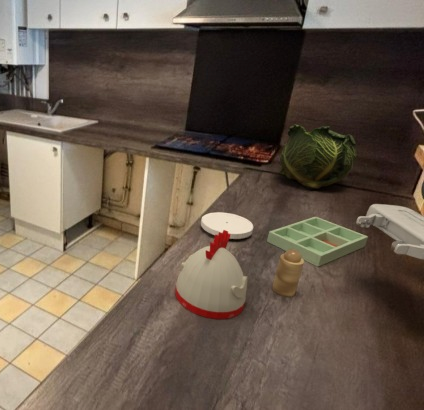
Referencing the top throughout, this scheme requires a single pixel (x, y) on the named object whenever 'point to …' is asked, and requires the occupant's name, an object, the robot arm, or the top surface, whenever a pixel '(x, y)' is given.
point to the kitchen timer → (212, 281)
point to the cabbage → (317, 156)
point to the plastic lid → (227, 225)
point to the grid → (317, 240)
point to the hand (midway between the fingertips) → (375, 233)
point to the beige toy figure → (288, 273)
